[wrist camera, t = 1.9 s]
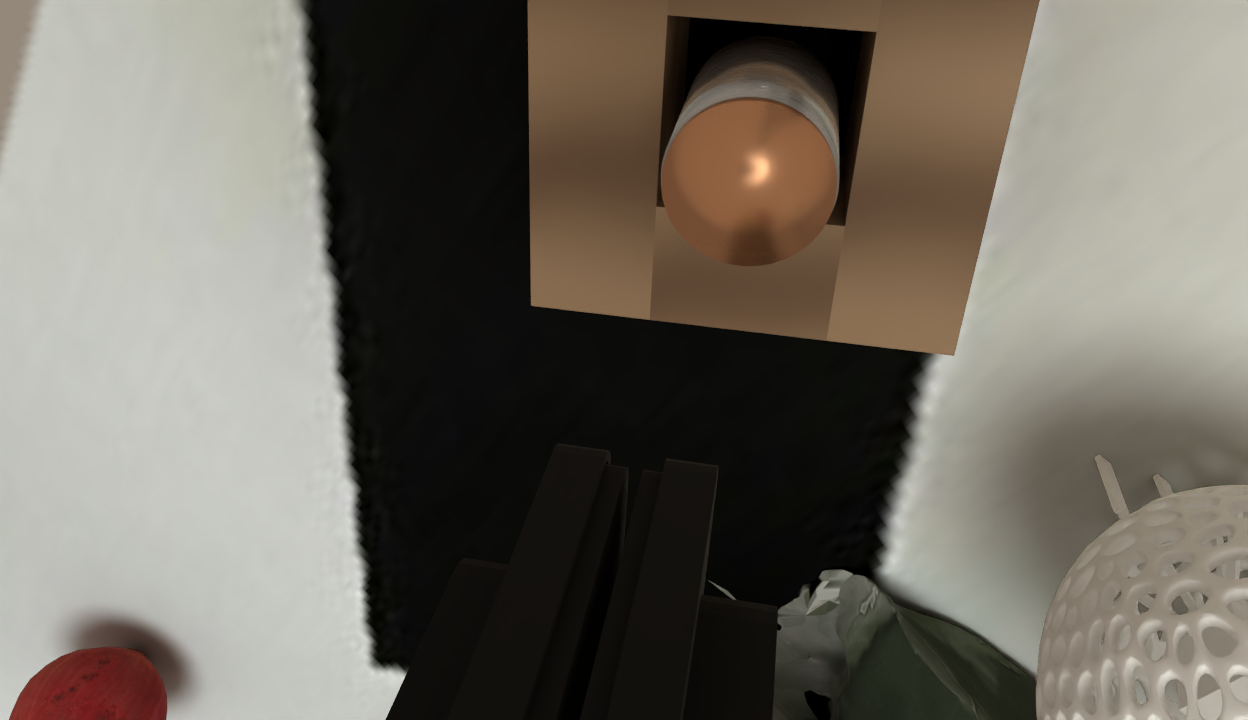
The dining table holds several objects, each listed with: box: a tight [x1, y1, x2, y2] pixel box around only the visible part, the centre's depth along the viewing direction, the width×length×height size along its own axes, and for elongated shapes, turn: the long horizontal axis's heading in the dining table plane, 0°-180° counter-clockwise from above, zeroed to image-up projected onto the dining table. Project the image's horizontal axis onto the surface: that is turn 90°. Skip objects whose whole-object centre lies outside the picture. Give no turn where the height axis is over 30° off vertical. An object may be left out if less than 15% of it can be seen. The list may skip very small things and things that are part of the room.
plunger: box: [661, 36, 839, 266], centre depth 23 cm, size 4×4×5 cm
